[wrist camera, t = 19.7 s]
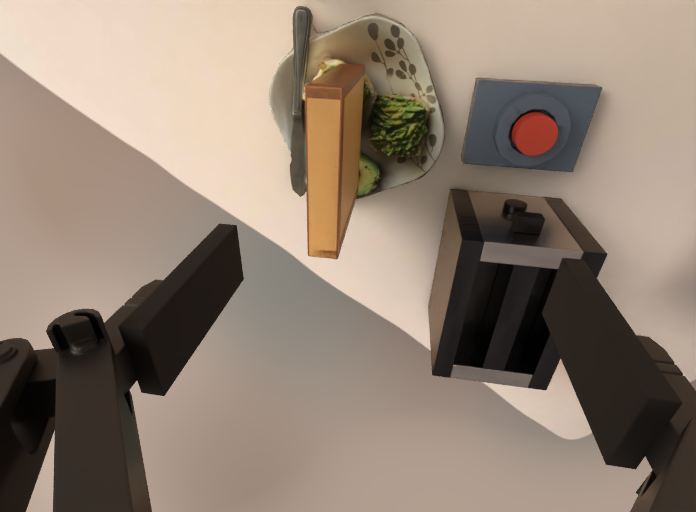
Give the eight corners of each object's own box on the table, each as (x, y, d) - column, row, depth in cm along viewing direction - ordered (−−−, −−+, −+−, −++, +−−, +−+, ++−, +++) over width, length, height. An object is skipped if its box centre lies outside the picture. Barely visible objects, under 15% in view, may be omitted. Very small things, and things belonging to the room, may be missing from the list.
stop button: (557, 113, 36) (563, 117, 34) (545, 152, 38) (551, 157, 36) (517, 110, 36) (521, 114, 35) (507, 149, 38) (511, 154, 37)
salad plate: (231, 41, 39) (211, 43, 35) (402, -42, 34) (401, -50, 30) (308, 209, 48) (299, 226, 44) (455, 164, 43) (459, 179, 39)
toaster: (566, 184, 42) (615, 237, 32) (519, 317, 52) (546, 390, 42) (452, 175, 43) (465, 223, 33) (428, 307, 53) (432, 375, 43)
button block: (595, 84, 37) (611, 90, 34) (567, 167, 41) (579, 178, 38) (476, 77, 38) (481, 82, 35) (460, 158, 42) (464, 169, 39)
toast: (365, 64, 35) (342, 87, 23) (358, 192, 41) (337, 259, 29) (339, 63, 35) (304, 85, 23) (336, 190, 41) (307, 256, 30)
